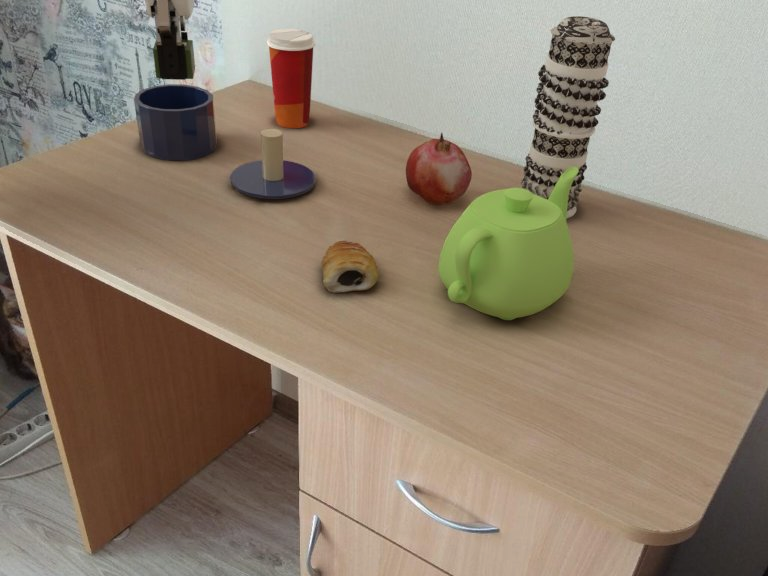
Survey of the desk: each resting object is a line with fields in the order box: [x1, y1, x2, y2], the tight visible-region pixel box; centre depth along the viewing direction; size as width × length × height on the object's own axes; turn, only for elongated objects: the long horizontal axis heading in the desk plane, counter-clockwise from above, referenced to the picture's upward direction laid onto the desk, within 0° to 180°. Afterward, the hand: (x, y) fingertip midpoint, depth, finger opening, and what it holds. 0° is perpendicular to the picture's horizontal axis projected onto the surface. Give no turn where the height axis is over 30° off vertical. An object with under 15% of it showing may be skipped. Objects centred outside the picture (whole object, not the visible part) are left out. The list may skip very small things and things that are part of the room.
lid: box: [229, 128, 317, 200], centre depth 110 cm, size 12×12×8 cm
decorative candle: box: [520, 15, 616, 219], centre depth 105 cm, size 9×9×25 cm
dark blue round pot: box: [133, 83, 218, 162], centre depth 119 cm, size 11×11×8 cm
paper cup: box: [266, 28, 316, 129], centre depth 127 cm, size 8×8×14 cm
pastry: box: [320, 240, 380, 294], centre depth 93 cm, size 9×7×4 cm
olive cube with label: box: [152, 38, 196, 80], centre depth 96 cm, size 4×4×4 cm
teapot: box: [437, 167, 578, 321], centre depth 90 cm, size 22×15×13 cm
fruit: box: [405, 132, 473, 206], centre depth 109 cm, size 9×10×10 cm
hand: (175, 70), depth 97 cm, fingers closed on olive cube with label, 4 cm apart
